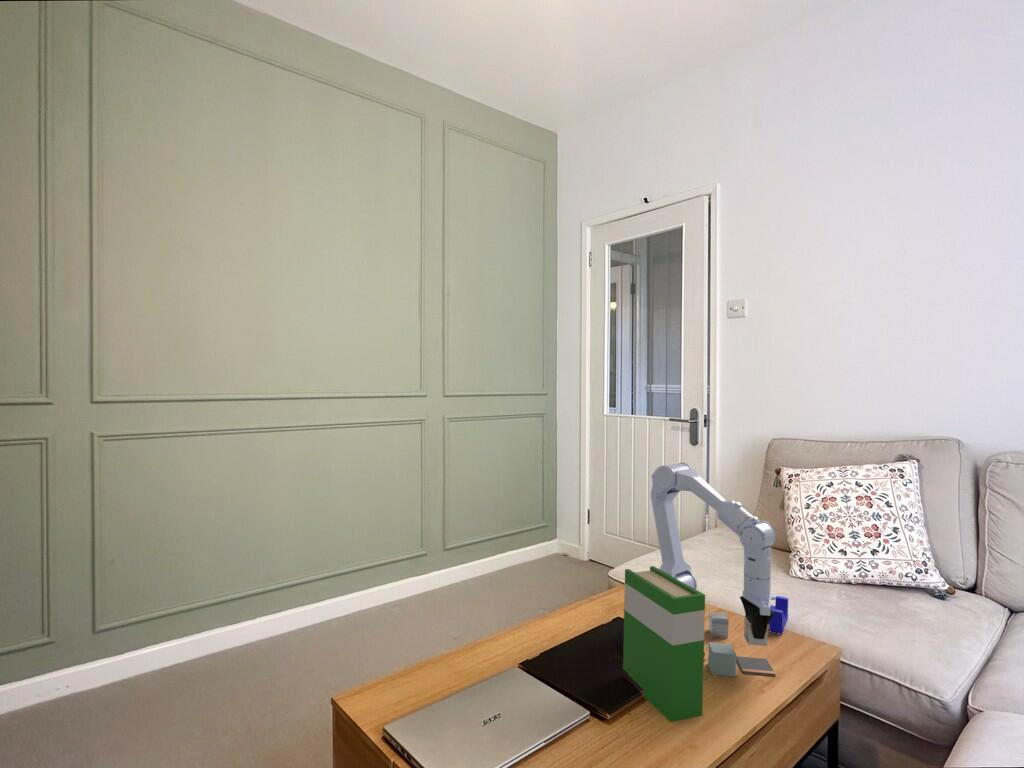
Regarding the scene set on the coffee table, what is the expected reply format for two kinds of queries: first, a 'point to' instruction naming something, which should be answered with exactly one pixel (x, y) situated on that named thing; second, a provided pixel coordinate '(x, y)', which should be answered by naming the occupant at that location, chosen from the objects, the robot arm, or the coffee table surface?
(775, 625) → the cable clip
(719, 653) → the block
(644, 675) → the hardback book
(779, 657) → the coffee table surface
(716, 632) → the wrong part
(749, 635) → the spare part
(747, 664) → the pad
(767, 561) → the robot arm
